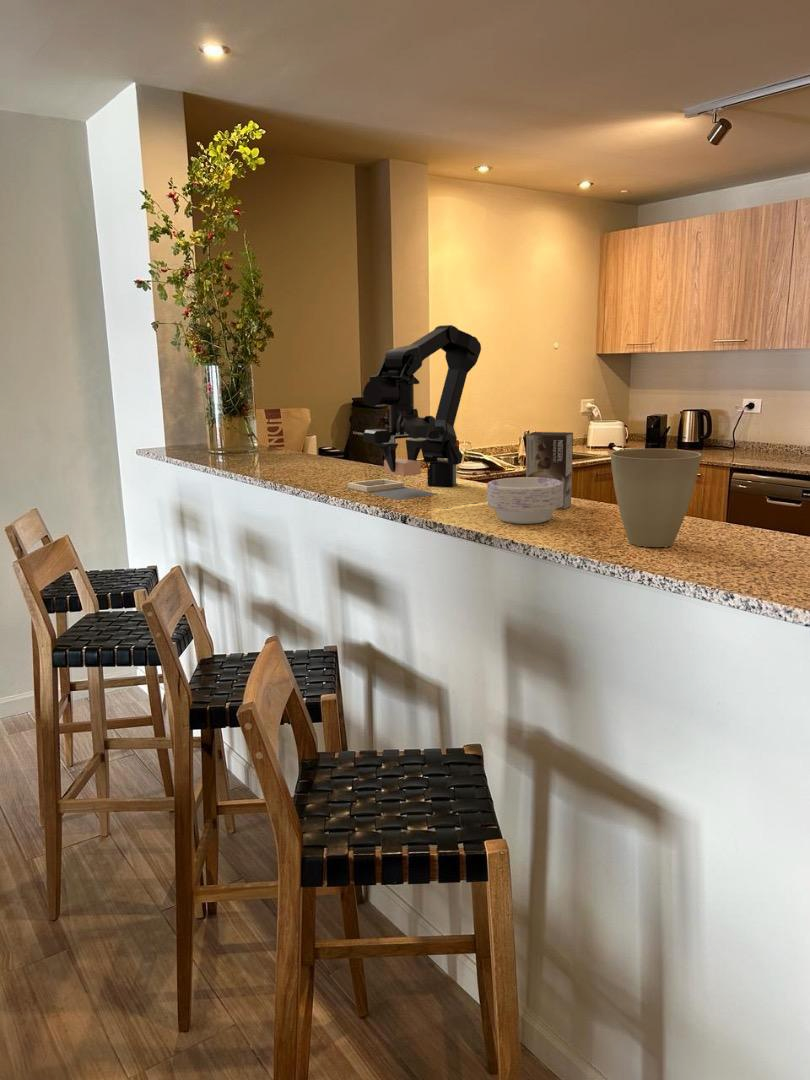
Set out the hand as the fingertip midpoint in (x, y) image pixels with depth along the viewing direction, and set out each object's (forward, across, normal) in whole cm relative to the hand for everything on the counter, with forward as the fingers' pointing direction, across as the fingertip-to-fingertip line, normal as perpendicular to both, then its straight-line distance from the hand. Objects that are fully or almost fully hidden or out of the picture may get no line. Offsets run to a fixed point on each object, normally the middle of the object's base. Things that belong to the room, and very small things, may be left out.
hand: (402, 470), depth 186 cm
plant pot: (+6, +5, -67) cm, 68 cm away
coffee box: (+6, +18, -31) cm, 36 cm away
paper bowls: (+6, +2, -39) cm, 39 cm away
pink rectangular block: (+1, 0, 0) cm, 1 cm away
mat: (+6, 0, +6) cm, 8 cm away
